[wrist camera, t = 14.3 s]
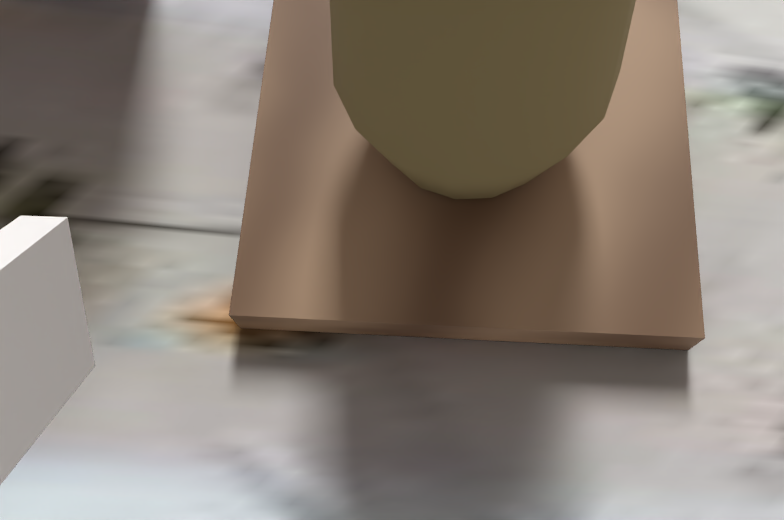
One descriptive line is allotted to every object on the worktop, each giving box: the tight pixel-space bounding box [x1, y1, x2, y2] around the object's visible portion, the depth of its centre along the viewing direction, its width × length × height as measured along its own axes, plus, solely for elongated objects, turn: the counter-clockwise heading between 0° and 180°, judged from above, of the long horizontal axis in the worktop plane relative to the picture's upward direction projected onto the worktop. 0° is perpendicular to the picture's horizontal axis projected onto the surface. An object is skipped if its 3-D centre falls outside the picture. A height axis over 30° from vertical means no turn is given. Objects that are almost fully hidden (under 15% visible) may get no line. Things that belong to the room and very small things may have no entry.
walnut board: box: [229, 0, 705, 350], centre depth 25 cm, size 14×14×2 cm
